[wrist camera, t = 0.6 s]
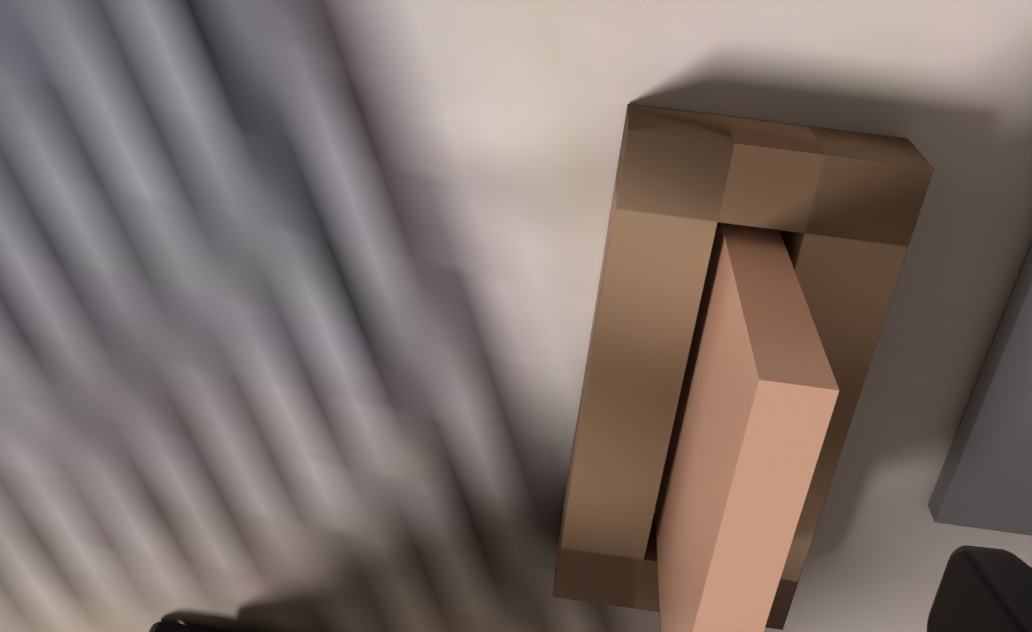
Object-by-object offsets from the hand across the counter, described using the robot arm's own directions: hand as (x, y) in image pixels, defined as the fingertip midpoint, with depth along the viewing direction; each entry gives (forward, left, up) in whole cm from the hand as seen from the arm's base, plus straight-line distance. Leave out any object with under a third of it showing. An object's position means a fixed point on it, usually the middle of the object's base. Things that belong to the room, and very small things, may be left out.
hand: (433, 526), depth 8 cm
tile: (-6, -5, -13) cm, 15 cm away
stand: (-6, -5, -13) cm, 15 cm away
